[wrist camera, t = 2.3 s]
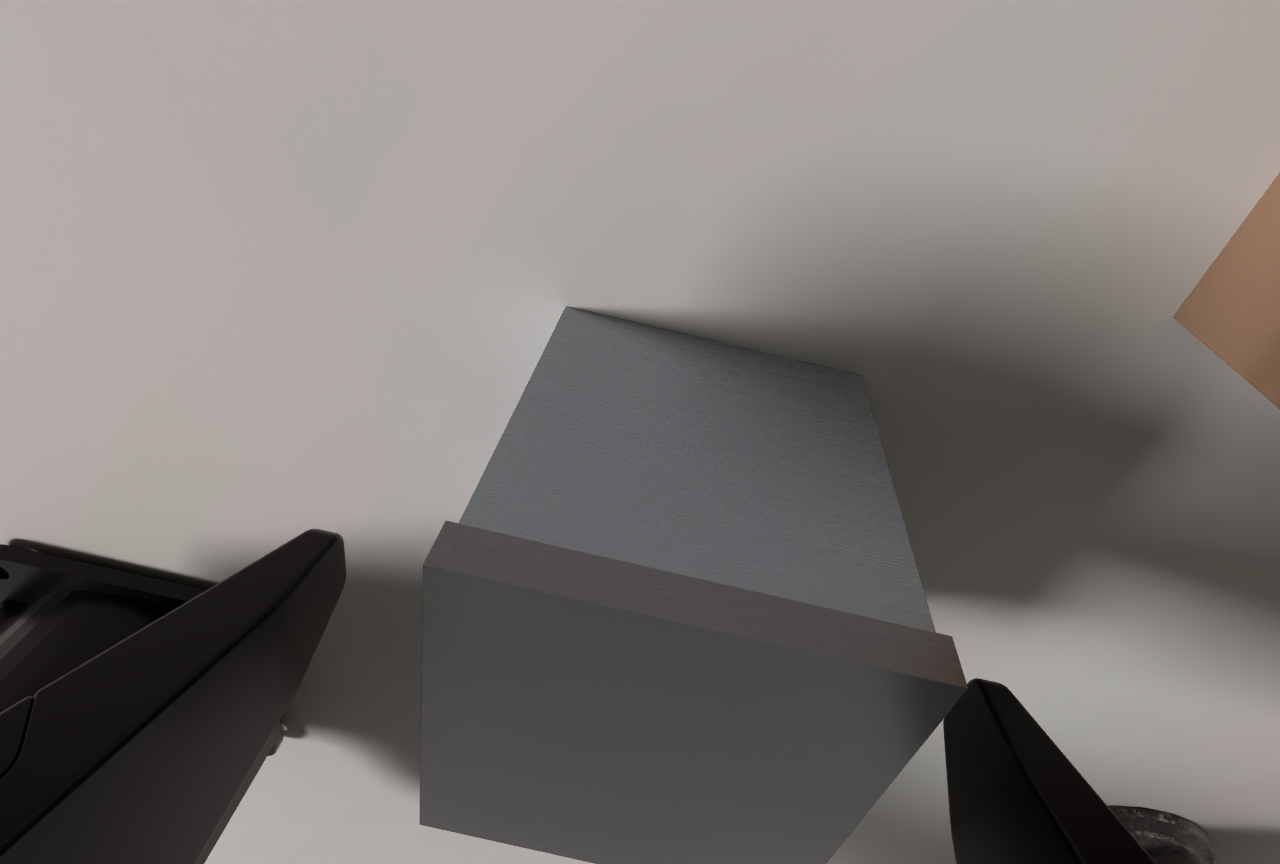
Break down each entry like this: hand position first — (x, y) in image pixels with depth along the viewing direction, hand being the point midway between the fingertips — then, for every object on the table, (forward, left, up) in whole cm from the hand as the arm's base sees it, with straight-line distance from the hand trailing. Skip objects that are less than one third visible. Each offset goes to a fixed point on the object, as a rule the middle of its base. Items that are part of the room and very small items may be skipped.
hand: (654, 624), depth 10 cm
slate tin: (0, 0, -4) cm, 4 cm away
